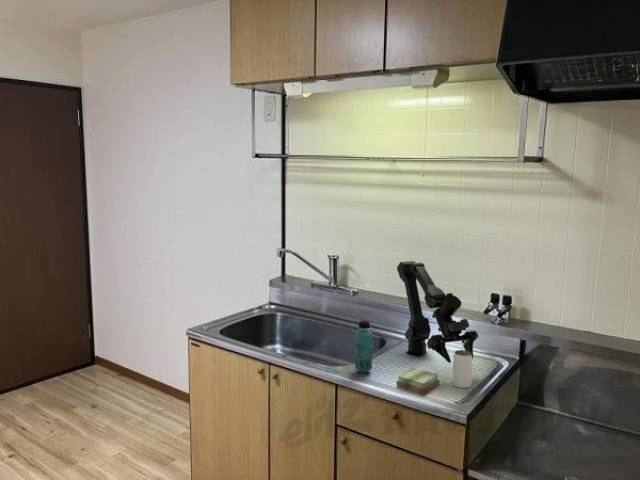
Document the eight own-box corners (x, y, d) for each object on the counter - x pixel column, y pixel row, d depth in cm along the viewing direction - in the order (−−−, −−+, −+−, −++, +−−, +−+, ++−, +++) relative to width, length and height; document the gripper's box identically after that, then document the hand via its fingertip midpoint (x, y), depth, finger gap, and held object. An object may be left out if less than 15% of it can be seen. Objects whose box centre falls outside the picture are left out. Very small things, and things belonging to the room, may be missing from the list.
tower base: (396, 386, 186) (396, 376, 186) (412, 377, 195) (412, 366, 194) (424, 395, 179) (424, 384, 179) (439, 385, 188) (439, 374, 187)
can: (467, 390, 183) (468, 357, 182) (449, 385, 187) (450, 353, 186) (474, 384, 188) (475, 352, 187) (456, 379, 192) (458, 348, 191)
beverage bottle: (357, 368, 203) (358, 318, 200) (374, 370, 201) (375, 320, 198) (352, 374, 197) (352, 322, 194) (369, 377, 195) (369, 324, 192)
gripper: (431, 313, 187) (447, 353, 178) (476, 309, 193) (494, 347, 184) (420, 328, 196) (434, 367, 187) (463, 324, 202) (479, 361, 193)
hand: (461, 360), depth 188 cm, fingers open, 9 cm apart
